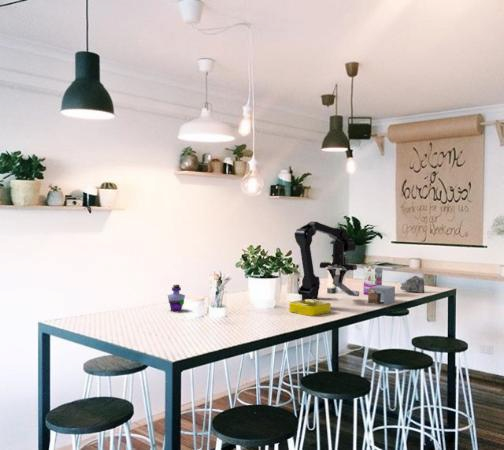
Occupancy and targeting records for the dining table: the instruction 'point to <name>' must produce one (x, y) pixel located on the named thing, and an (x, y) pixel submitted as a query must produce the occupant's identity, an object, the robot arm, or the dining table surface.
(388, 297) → the cubby
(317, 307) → the element tile
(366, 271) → the candy bar box
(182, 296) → the potion bottle
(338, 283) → the hook tool
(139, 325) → the dining table surface
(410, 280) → the mineral rock
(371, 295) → the cube
